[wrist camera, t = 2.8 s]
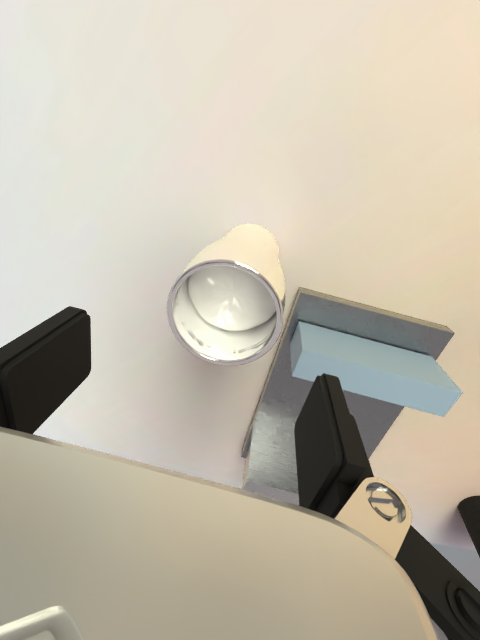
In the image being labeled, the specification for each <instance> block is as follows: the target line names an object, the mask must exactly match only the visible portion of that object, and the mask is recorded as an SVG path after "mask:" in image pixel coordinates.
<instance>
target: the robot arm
mask: <svg viewBox="0 0 480 640" xmlns="http://www.w3.org/2000/svg"><path fill="white" fill-rule="evenodd" d="M90 371H91V328H90V316H89V315H87V312H86V311H85V310H83V309H79V308H75V307H70V306H69V307H67V308H65V309H64V310H62V311H60V312H59V313H57V314H56V315H54V316H52V317H51V318H49V319H47V320H46V321H44V322H42V323H41V324H39V325H37V326H36V327H34V328H33V329H31V330H29V331H28V332H26V333H24V334H23V335H21V336H19V337H18V338H16V339H15V340H13V341H11V342H10V343H8V344H6V345H5V346H3V347H1V348H0V640H480V592H479V591H478V589H476V588H475V587H474V586H473V585H472V584H471V583H470V582H469V581H468V580H467V579H466V578H465V577H464V576H463V575H462V574H461V573H460V572H459V571H458V570H457V569H456V568H455V567H454V566H453V565H451V563H450V562H449V561H447V560H446V559H445V558H444V557H443V556H442V555H441V554H440V553H439V552H438V551H437V550H436V549H435V548H434V547H433V546H432V545H431V544H430V543H429V542H428V541H427V540H426V539H425V538H424V537H423V536H422V535H421V534H420V533H418V532H417V531H416V530H415V529H414V528H413V527H412V526H411V521H412V514H411V510H410V507H409V505H408V503H407V501H406V500H405V499H404V497H403V496H402V494H401V493H400V492H399V491H398V490H397V489H396V488H395V487H393V486H392V485H391V484H389V483H388V482H386V481H384V480H382V479H379V478H374V476H373V473H372V470H371V466H370V463H369V460H368V457H367V454H366V451H365V448H364V445H363V442H362V439H361V436H360V433H359V430H358V427H357V424H356V421H355V418H354V416H353V415H351V414H350V412H349V409H348V406H347V403H346V400H345V396H344V393H343V390H342V387H341V384H340V380H339V378H338V377H337V376H333V375H329V374H325V373H323V374H322V375H321V376H319V375H318V376H317V377H316V379H315V381H314V383H313V385H312V387H311V390H310V392H309V394H308V396H307V398H306V401H305V403H304V405H303V407H302V409H301V412H300V414H299V416H298V418H297V420H296V423H295V427H294V436H295V450H296V465H297V479H298V494H299V506H298V505H295V504H291V503H288V502H284V501H281V500H277V499H274V498H270V497H267V496H263V495H260V494H256V493H253V492H249V491H246V490H242V489H238V488H234V487H231V486H227V485H223V484H220V483H216V482H212V481H208V480H205V479H201V478H197V477H194V476H190V475H186V474H182V473H179V472H175V471H171V470H167V469H164V468H160V467H156V466H152V465H148V464H145V463H141V462H137V461H133V460H129V459H126V458H122V457H118V456H114V455H110V454H107V453H103V452H99V451H95V450H91V449H87V448H83V447H80V446H76V445H72V444H68V443H64V442H60V441H56V440H52V439H48V438H45V437H41V436H37V435H33V433H34V432H35V431H36V430H37V429H38V428H39V427H40V426H41V424H42V423H43V422H44V421H45V420H46V419H47V418H48V417H49V416H50V415H51V414H52V413H53V412H54V411H55V410H56V409H57V408H58V407H59V406H60V405H61V404H62V403H63V402H64V401H65V400H66V398H67V397H68V396H69V395H70V394H71V393H72V392H73V391H74V390H75V389H76V388H77V387H78V386H79V385H80V384H81V383H82V382H83V381H84V380H85V379H86V378H87V377H88V375H89V373H90Z"/></svg>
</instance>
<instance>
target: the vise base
mask: <svg viewBox="0 0 480 640" xmlns="http://www.w3.org/2000/svg"><path fill="white" fill-rule="evenodd" d="M299 321H300V322H304V323H308V324H312V325H315V326H319V327H323V328H326V329H330V330H334V331H338V332H341V333H345V334H349V335H353V336H356V337H360V338H364V339H368V340H371V341H375V342H379V343H383V344H386V345H390V346H394V347H398V348H401V349H405V350H409V351H412V352H416V353H420V354H424V355H427V356H431V357H433V358H434V360H435V361H436V359H437V358H438V357H439V355H440V354H441V352H442V351H443V349H444V348H445V346H446V345H447V343H448V342H449V340H450V339H451V338H452V336H453V335H454V332H452V331H451V330H450V329H449V328H448V327H447V326H443V325H439V324H436V323H432V322H428V321H424V320H421V319H417V318H413V317H409V316H406V315H402V314H398V313H394V312H391V311H387V310H383V309H379V308H376V307H372V306H368V305H364V304H361V303H357V302H353V301H349V300H346V299H342V298H338V297H334V296H331V295H327V294H323V293H319V292H316V291H312V290H308V289H304V288H301V287H299V290H298V293H297V296H296V299H295V302H294V304H293V307H292V310H291V313H290V316H289V318H288V321H287V324H286V327H285V330H284V333H283V335H282V338H281V341H280V344H279V347H278V349H277V352H276V355H275V358H274V361H273V364H272V366H271V369H270V372H269V375H268V378H267V380H266V383H265V386H264V389H263V392H262V395H261V397H260V400H259V403H258V406H257V409H256V411H255V414H254V417H253V420H252V423H251V426H250V428H249V431H248V434H247V437H246V440H245V442H244V445H243V449H242V456H241V457H244V458H246V461H245V469H244V477H243V486H242V490H246V491H249V492H253V493H256V494H260V495H263V496H267V497H270V498H274V499H277V500H281V501H284V502H288V503H291V504H295V505H298V506H299V494H298V479H297V465H296V450H295V436H294V427H295V423H296V420H297V418H298V416H299V414H300V412H301V409H302V407H303V405H304V403H305V401H306V398H307V396H308V394H309V392H310V390H311V387H312V385H313V383H314V382H312V381H308V380H305V379H301V378H297V377H293V376H292V368H291V353H290V343H291V341H292V338H293V335H294V333H295V330H296V327H297V325H298V322H299ZM343 393H344V396H345V400H346V403H347V406H348V409H349V412H350V414H351V415H353V416H354V418H355V421H356V424H357V427H358V430H359V433H360V436H361V439H362V442H363V445H364V448H365V451H366V454H367V457H368V459H369V457H370V456H371V454H372V453H373V451H374V450H375V448H376V447H377V446H378V444H379V443H380V441H381V440H382V438H383V437H384V435H385V434H386V432H387V431H388V430H389V428H390V427H391V425H392V424H393V422H394V421H395V419H396V418H397V416H398V415H399V413H400V412H401V411H402V409H403V408H404V406H401V405H398V404H394V403H390V402H387V401H383V400H379V399H375V398H372V397H368V396H364V395H360V394H357V393H353V392H349V391H346V390H343Z"/></svg>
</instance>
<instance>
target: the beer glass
mask: <svg viewBox="0 0 480 640" xmlns="http://www.w3.org/2000/svg"><path fill="white" fill-rule="evenodd" d="M278 260H279V247H278V244H277V241H276V239H275V238H274V236H273V235H272V234H271V233H270V232H269V231H268V230H267V229H266V228H264V227H262V226H260V225H256V224H241V225H238V226H236V227H234V228H233V229H231V230H230V231H229V232H228V233H227V234H226V235H225V237H224V238H222V239H219V240H216V241H214V242H212V243H211V244H209V245H208V246H206V247H205V248H204V249H202V250H201V251H200V252H199V253H198V254H197V255H196V256H195V257H194V258H193V259H192V260H191V261H190V263H189V264H188V265H187V267H186V268H185V269H184V271H183V272H182V274H181V275H180V276H179V277H178V278H177V280H176V281H175V282H174V284H173V286H172V288H171V290H170V293H169V296H168V301H167V315H168V320H169V324H170V326H171V329H172V331H173V333H174V335H175V336H176V338H177V339H178V341H179V342H180V343H181V344H182V345H183V346H184V347H185V348H186V349H187V350H188V351H189V352H190V353H192V354H193V355H195V356H196V357H198V358H200V359H202V360H204V361H207V362H210V363H213V364H217V365H224V366H235V365H242V364H246V363H249V362H252V361H254V360H256V359H258V358H260V357H262V356H263V355H264V354H266V353H267V352H268V351H269V350H270V349H271V348H272V347H273V345H274V344H275V342H276V341H277V339H278V337H279V335H280V332H281V329H282V324H283V314H284V307H285V297H286V286H285V279H284V274H283V270H282V267H281V265H280V263H279V261H278Z"/></svg>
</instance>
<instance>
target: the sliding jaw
mask: <svg viewBox="0 0 480 640" xmlns="http://www.w3.org/2000/svg"><path fill="white" fill-rule="evenodd" d="M290 353H291V368H292V376H293V377H297V378H301V379H305V380H308V381H312V382H314V381H315V379H316V377H317V376H318V375H319V376H321V375H322V374H323V373H325V374H329V375H333V376H337V377H338V378H339V380H340V384H341V387H342V390H346V391H349V392H353V393H357V394H360V395H364V396H368V397H372V398H375V399H379V400H383V401H387V402H390V403H394V404H398V405H401V406H405V407H409V408H413V409H416V410H420V411H424V412H428V413H431V414H435V415H439V416H442V417H444V416H445V415H446V413H447V412H448V411H449V410H450V408H451V407H452V406H453V405H454V403H455V402H456V401H457V399H458V398H459V397H460V396H461V394H462V393H463V392H462V391H461V390H460V389H459V387H458V386H457V385H456V384H455V383H454V382H453V380H452V379H451V378H450V377H449V376H448V375H447V373H446V372H445V371H444V370H443V369H442V368H441V367H440V365H439V364H438V363H437V362H436V361H435V360H434V358H433V357H431V356H427V355H424V354H420V353H416V352H412V351H409V350H405V349H401V348H398V347H394V346H390V345H386V344H383V343H379V342H375V341H371V340H368V339H364V338H360V337H356V336H353V335H349V334H345V333H341V332H338V331H334V330H330V329H326V328H323V327H319V326H315V325H312V324H308V323H304V322H300V321H299V322H298V325H297V327H296V330H295V333H294V335H293V338H292V341H291V343H290Z"/></svg>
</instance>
